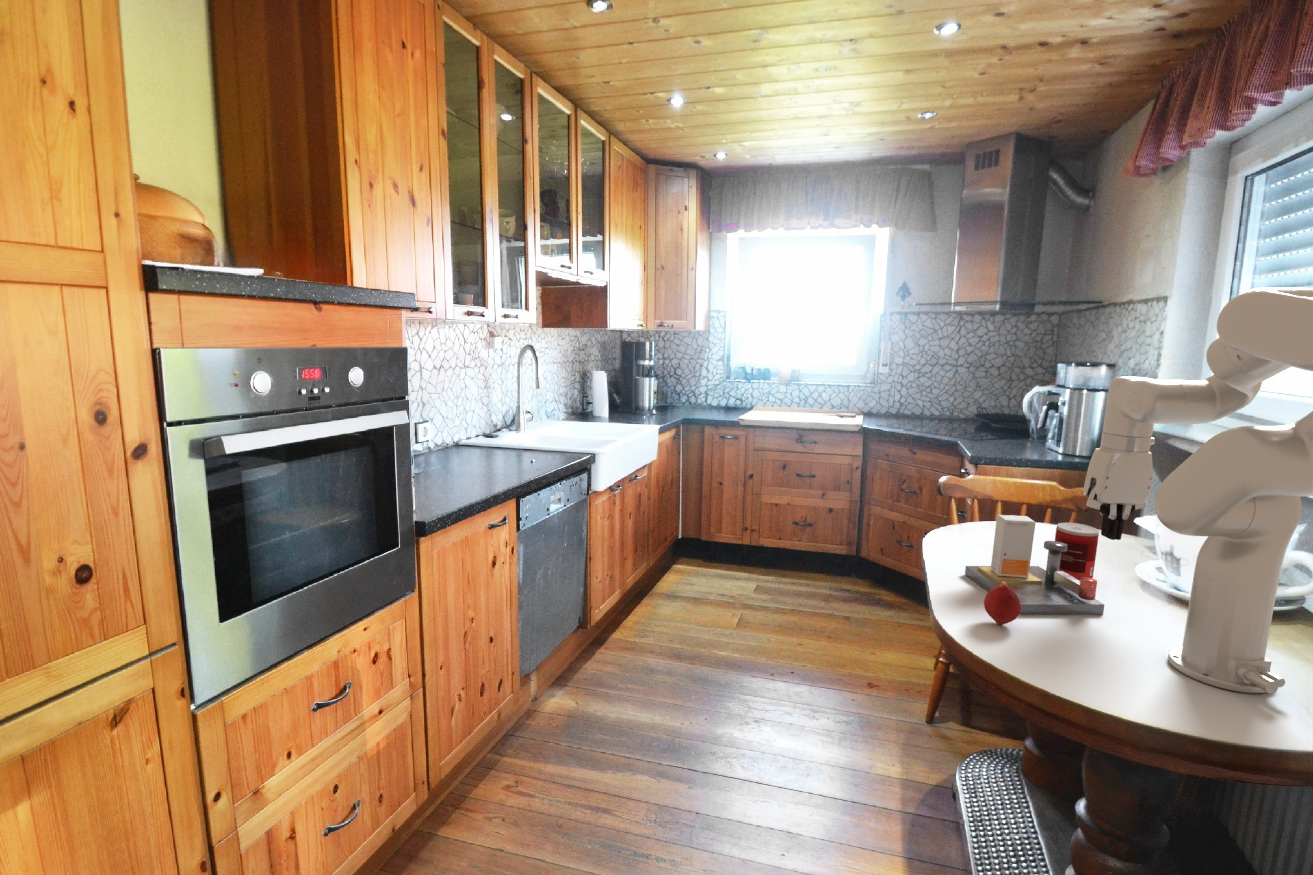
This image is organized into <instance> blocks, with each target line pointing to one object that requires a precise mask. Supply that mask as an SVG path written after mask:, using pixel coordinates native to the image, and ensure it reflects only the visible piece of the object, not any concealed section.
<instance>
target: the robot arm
mask: <svg viewBox="0 0 1313 875" xmlns="http://www.w3.org/2000/svg"><path fill="white" fill-rule="evenodd" d="M1216 331H1217V335H1218V336H1219V337H1218V338H1215V340H1213V341H1212V342H1211V343H1210V345H1209V346H1208V347H1207V350H1206V355H1205V356H1206V362H1207V366H1208V367H1209V369H1210V372H1212V375H1211V376H1209V377H1207V378H1204V379H1202V380H1189V379H1188V380H1186V379H1155V378H1149V377H1145V376H1129V375H1128V376H1125V375H1123V376H1116V377H1114V378H1113V379H1112V380H1110V383H1109V385H1108V392H1107V398H1106V399H1107V400H1106V406H1105V412H1104V419H1103V424H1102V426H1103V427H1102V432H1101V439H1100V446H1099V447H1098V448H1097V447H1096V448H1095V449H1094V452H1092V456H1091V458H1090V461H1089V464H1088V468H1087V471H1086V476H1085V480H1084V484H1083V496H1085V497H1086V498H1087V501H1086V503H1085V504H1086V506H1087V507H1088V508H1091V509H1095V510H1098V512H1099V514H1100V515H1101V516H1102V523H1101V526H1100V527H1101V528H1100V531H1101V532H1100V535H1101V536H1103V537H1104V538H1107V539H1109V540H1111V541H1115V540H1117V541H1121V540H1122V536H1123V535H1122V534H1123V530H1124V522H1125V520H1128V519H1129V516H1130V515H1131V514H1132V513H1133V512H1134V511H1136V510H1140V509H1141V510H1142V509H1145V508H1146V502H1148V501H1149V498H1150V495H1151V490H1152V483H1153V466H1154V465H1153V454H1152V452H1151V446H1152V445H1154V444H1155V443H1156V439H1155V438H1154V437H1153V430H1154V425H1155V424H1158V425H1160V424H1161V425H1167V424H1169V425H1170V424H1175V425H1177V424H1179V425H1181V424H1182V425H1201V424H1202V425H1203V424H1208V423H1211V422H1212V423H1213V422H1215V421H1217V420H1220V419H1223V418H1225V417H1227V416H1230V415H1231V414H1234V413H1236V412H1237V411H1240V410H1241V409H1243V408H1245V407H1248V406H1249V404H1251V403H1252V402H1253V401H1254V398H1255V397H1256V396H1257V395H1258V394H1259V391H1260V389H1261V387H1262V384H1263V381H1266V380H1268V379H1270V378H1272V377H1273V376H1276V375H1277V374H1280V373H1281V372H1284V371H1285V370H1287V369H1289V368H1291V367H1293V368H1296V369H1300V370H1305V371H1308V372H1309V371H1310V372H1313V287H1312V288H1308V287H1306V288H1305V287H1259V288H1258V287H1256V288H1252V289H1248V290H1246V291H1245V290H1244V291H1243V292H1241V293H1239V294H1237V295H1236V296H1233V298H1232V299H1230V300H1229V301H1228V302H1227V303H1226V304H1225V305H1224V307H1222V309H1221V310H1220V313H1219V314H1218V318H1217V322H1216ZM1312 496H1313V410H1311V412H1309V413H1308V414H1307V415H1305V416H1303V417H1302V418H1300V419H1299V420H1297V421H1295V422H1292V423H1290V424H1289V423H1288V424H1283V425H1246V426H1243V425H1242V426H1237V427H1232V428H1229V429H1226V430H1224V431H1222V432H1221V431H1220V432H1219V433H1217V434H1215V435H1213V436H1212V437H1211V438H1210V439H1208V440H1207V441H1206V442H1204V443H1203V444H1202V445H1201V446H1200V447H1199V448H1198V449H1196V450H1195V451H1194V452H1193V453H1191V455H1190V456H1188V457H1187V458H1186V459H1185V460H1184V461H1183V462H1182V463H1181V464H1180V465H1178V466H1177V467H1176V468H1175V469H1174V470H1172V471H1171V473H1169V474H1168V476H1166V477H1165V478H1164V480H1163V481H1161V484H1160V486H1158V488H1157V491H1156V494H1155V497H1154V503H1153V505H1154V511H1155V515H1156V517H1157V519H1158V521H1160V523H1161V524H1162V525H1163V526H1164V527H1165V528H1167V529H1168V530H1170V531H1172V532H1173V533H1177V534H1179V535H1184V536H1191V537H1207V538H1206V539H1205V541H1204V542H1203V544H1202V545H1201V547H1200V549H1199V551H1198V553H1197V556H1196V560H1195V565H1194V571H1193V578H1192V584H1191V592H1190V596H1189V603H1188V610H1187V617H1186V622H1185V626H1184V627H1185V628H1184V636H1183V639H1182V640H1183V641H1182V645H1181V646H1176V647H1173V648H1171V649H1170V650H1168V656H1167V661H1168V662H1169V664H1171V666H1172V667H1173V668H1175V669H1176V670H1177V671H1179V672H1181V673H1182V674H1184V675H1186V676H1188V677H1189V678H1192V679H1194V680H1197V681H1199V682H1202V683H1204V684H1208V685H1210V686H1213V687H1216V688H1219V689H1220V688H1221V689H1224V690H1229V691H1234V692H1239V693H1245V694H1264V693H1268V694H1274V693H1276V692H1277V691H1278V689H1279V688H1282V687H1284V686H1285V684H1286V680H1285V679H1284V678H1282V677H1281V676H1279V675H1277V674H1274V673H1272V672H1271V667H1272V662H1273V661H1272V660H1271V659H1269V658H1267V657H1266V654H1267V653H1266V652H1267V648H1268V642H1269V636H1270V631H1271V630H1270V629H1271V625H1272V620H1273V614H1274V607H1275V603H1276V598H1277V593H1278V587H1279V583H1280V578H1281V571H1282V568H1283V563H1284V559H1285V556H1286V552H1287V550H1288V547H1289V545H1290V542H1291V539H1292V538H1293V535H1294V534H1295V531H1296V530H1297V527H1298V525H1299V523H1300V519H1301V517H1302V511H1303V510H1302V509H1303V508H1302V507H1303V506H1302V505H1303V504H1302V501H1301V497H1312Z"/></svg>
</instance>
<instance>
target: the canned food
mask: <svg viewBox="0 0 1313 875" xmlns="http://www.w3.org/2000/svg"><path fill="white" fill-rule="evenodd" d="M1099 532H1100V531H1099V530H1098V529H1097V528H1095V527H1093V526H1090V525H1088V524H1082V523H1078V522H1059V523H1057V524H1056V529H1055V535H1054V541H1057V542H1061V543H1064V544H1066V545H1067V551H1066V552H1061V559H1060V567H1059V571H1063V572H1065V573H1067V574H1069V575H1071V576H1072V577H1074V578H1076V579H1078V580H1080V579H1081V577H1088V578H1092V579H1094V571H1095V564H1096V558H1097V551H1098V543H1099V535H1100V534H1099Z"/></svg>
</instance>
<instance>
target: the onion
mask: <svg viewBox="0 0 1313 875" xmlns="http://www.w3.org/2000/svg"><path fill="white" fill-rule="evenodd" d="M983 607H984V610H985V612H986V613H987V614H988V616H989V617H990V618H991V619H992V620H993V621H994V623H995V624H997V625H999V626H1003V625H1006V624H1009V623H1012V622H1013V621H1015V620H1016V619H1017V618H1018V617H1019V616H1020V615H1019V614H1020V612H1021V603H1020V600H1019V598H1018V596H1017V595H1016V593H1015V592H1014V591H1013V590H1012V589H1011V588H1010V587H1009V586H1008V585H1007V584H1006V583H1005V582H1003V581H1002V582H1000V586H997V587H995V588H993V589H991V590H990V591H989V592H988V591H987V593H986V595H985V597H984V599H983Z"/></svg>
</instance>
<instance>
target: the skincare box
mask: <svg viewBox="0 0 1313 875" xmlns="http://www.w3.org/2000/svg"><path fill="white" fill-rule="evenodd" d="M1035 529H1036V521H1035V520H1033V519H1032V518H1030V517H1029V516H1027V515H1026V516H1025V515H1016V514H1014V515H1013V514H1009V515H1007V514H997V515H996V523H995V530H994V538H993V546H992V547H993V548H992V555H991V564H990V566H991V569H992V570H993V571H994V572H995V573H996V574H997V575H998V576H1010V577H1022V578H1028V575H1029V568H1030V566H1031V560H1032V551H1033V545H1034V544H1033V542H1034V537H1035V536H1034V535H1035Z"/></svg>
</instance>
